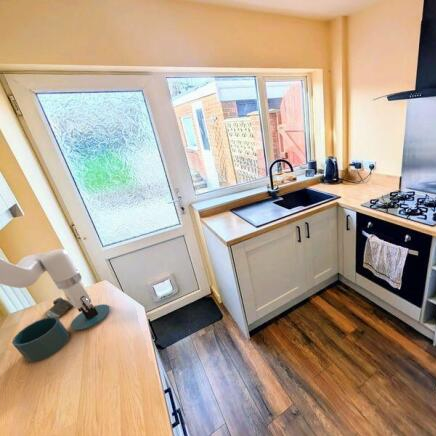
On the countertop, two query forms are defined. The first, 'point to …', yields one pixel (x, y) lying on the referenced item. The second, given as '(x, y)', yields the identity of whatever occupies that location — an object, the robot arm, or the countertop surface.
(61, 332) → the tin
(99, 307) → the lid
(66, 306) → the chocolate cake
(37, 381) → the countertop surface
